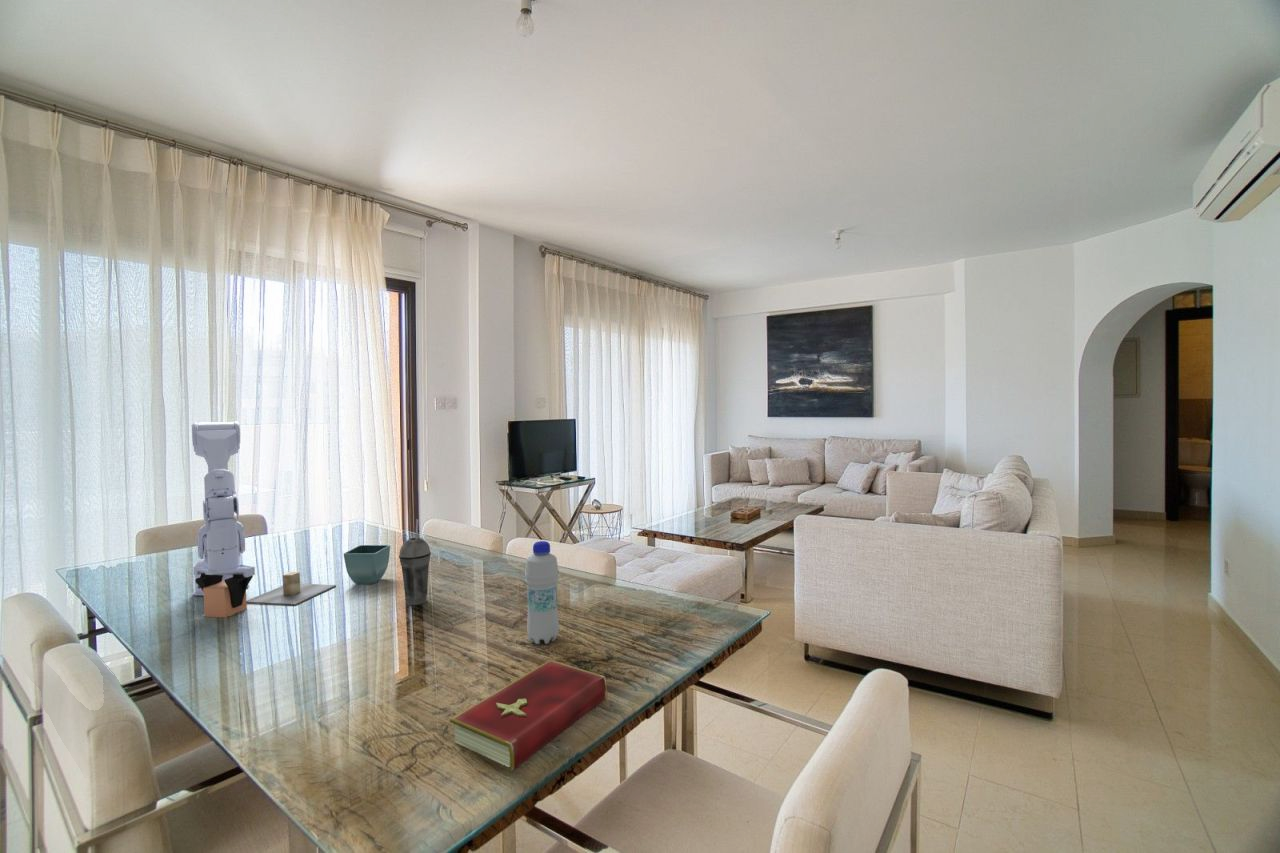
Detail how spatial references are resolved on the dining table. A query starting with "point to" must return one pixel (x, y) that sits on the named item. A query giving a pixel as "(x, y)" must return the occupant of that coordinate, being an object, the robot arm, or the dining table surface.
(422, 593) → the beverage cup
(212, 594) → the block
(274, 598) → the post block
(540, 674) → the hardcover book
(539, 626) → the bottle
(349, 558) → the flower pot
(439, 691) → the dining table surface
